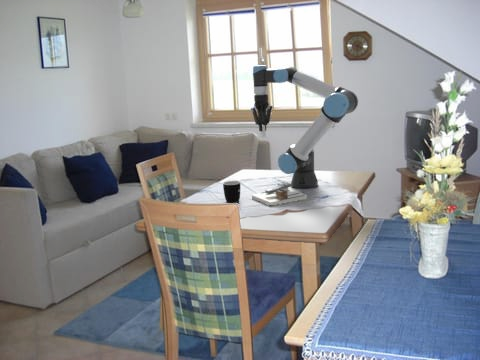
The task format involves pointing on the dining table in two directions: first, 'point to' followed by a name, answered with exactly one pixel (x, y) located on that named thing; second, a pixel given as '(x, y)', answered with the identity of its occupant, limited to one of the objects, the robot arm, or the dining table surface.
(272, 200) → the console
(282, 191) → the slider walnut
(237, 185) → the mug
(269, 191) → the rocker
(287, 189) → the slider sage
